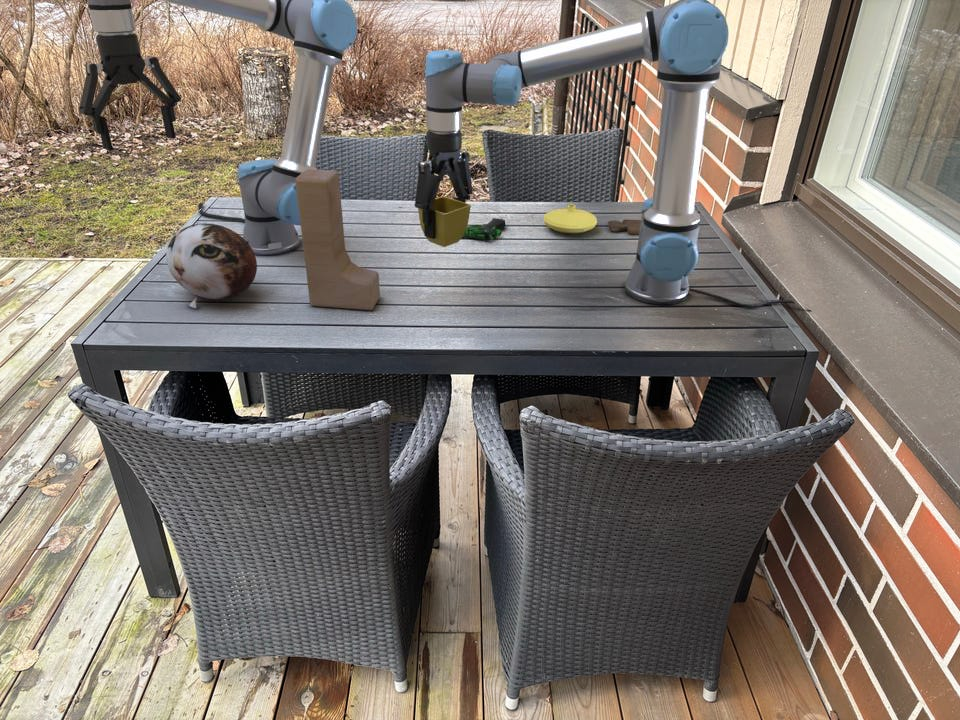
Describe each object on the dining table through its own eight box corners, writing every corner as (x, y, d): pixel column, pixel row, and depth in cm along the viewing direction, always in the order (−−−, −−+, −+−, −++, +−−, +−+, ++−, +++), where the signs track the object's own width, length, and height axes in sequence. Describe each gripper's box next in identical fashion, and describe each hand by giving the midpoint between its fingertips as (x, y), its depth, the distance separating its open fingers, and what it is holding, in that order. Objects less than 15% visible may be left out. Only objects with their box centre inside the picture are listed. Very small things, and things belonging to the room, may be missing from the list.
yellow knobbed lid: (559, 216, 220) (561, 193, 217) (605, 227, 212) (608, 204, 209) (532, 230, 209) (533, 207, 206) (580, 242, 201) (582, 218, 198)
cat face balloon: (130, 285, 161) (164, 203, 163) (192, 308, 177) (221, 233, 178) (195, 307, 151) (229, 220, 152) (254, 330, 166) (285, 250, 168)
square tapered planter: (471, 242, 164) (471, 204, 160) (445, 252, 159) (444, 213, 154) (443, 232, 169) (443, 195, 165) (417, 242, 163) (416, 204, 159)
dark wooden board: (699, 237, 207) (691, 225, 216) (700, 231, 206) (692, 220, 215) (610, 234, 207) (606, 222, 216) (611, 228, 207) (607, 217, 215)
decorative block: (372, 311, 163) (363, 181, 148) (309, 306, 165) (293, 177, 149) (380, 297, 169) (373, 171, 154) (319, 292, 171) (306, 168, 156)
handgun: (511, 219, 210) (493, 234, 198) (511, 228, 211) (492, 244, 199) (461, 212, 215) (440, 226, 203) (461, 221, 217) (440, 236, 204)
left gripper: (166, 26, 150) (186, 130, 160) (40, 36, 133) (72, 151, 144) (185, 29, 145) (204, 136, 156) (57, 40, 129) (88, 158, 140)
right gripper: (465, 119, 160) (464, 216, 172) (394, 135, 146) (398, 239, 158) (490, 125, 156) (487, 224, 167) (420, 142, 142) (422, 249, 153)
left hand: (140, 143), depth 150 cm, fingers open, 13 cm apart
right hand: (444, 231), depth 163 cm, fingers closed on square tapered planter, 9 cm apart
